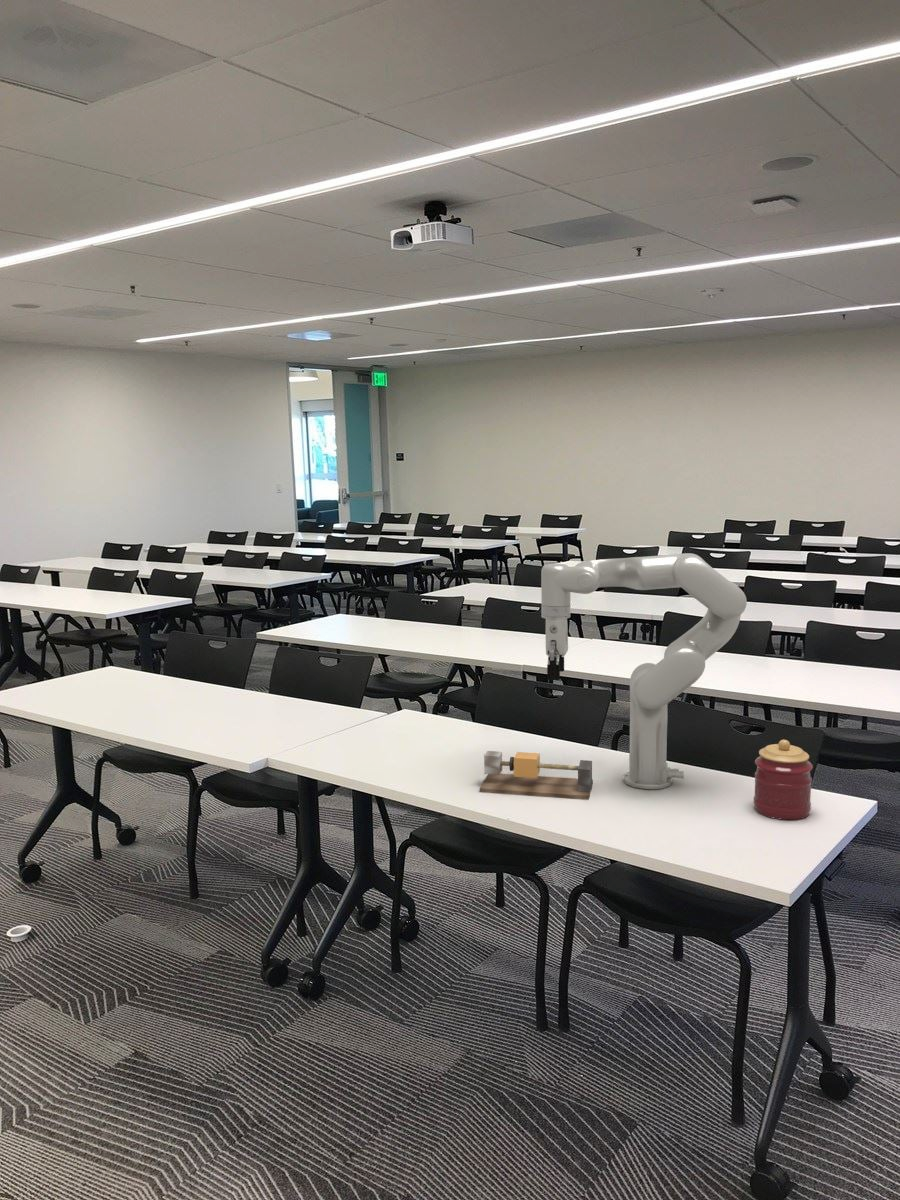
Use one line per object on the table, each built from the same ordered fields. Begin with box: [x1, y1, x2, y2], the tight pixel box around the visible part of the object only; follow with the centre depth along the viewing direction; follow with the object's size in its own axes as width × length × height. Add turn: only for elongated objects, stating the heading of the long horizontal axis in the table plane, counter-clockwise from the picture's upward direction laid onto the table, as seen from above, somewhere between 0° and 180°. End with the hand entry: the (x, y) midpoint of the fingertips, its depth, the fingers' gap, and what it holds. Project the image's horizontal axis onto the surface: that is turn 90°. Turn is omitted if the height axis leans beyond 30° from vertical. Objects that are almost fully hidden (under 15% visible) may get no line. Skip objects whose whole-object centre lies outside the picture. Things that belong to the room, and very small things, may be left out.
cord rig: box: [479, 750, 594, 801], centre depth 235 cm, size 28×12×8 cm, turn 76°
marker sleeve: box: [513, 751, 541, 778], centre depth 235 cm, size 6×5×5 cm
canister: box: [753, 739, 813, 820], centre depth 216 cm, size 13×13×18 cm
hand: (555, 675), depth 238 cm, fingers open, 9 cm apart
